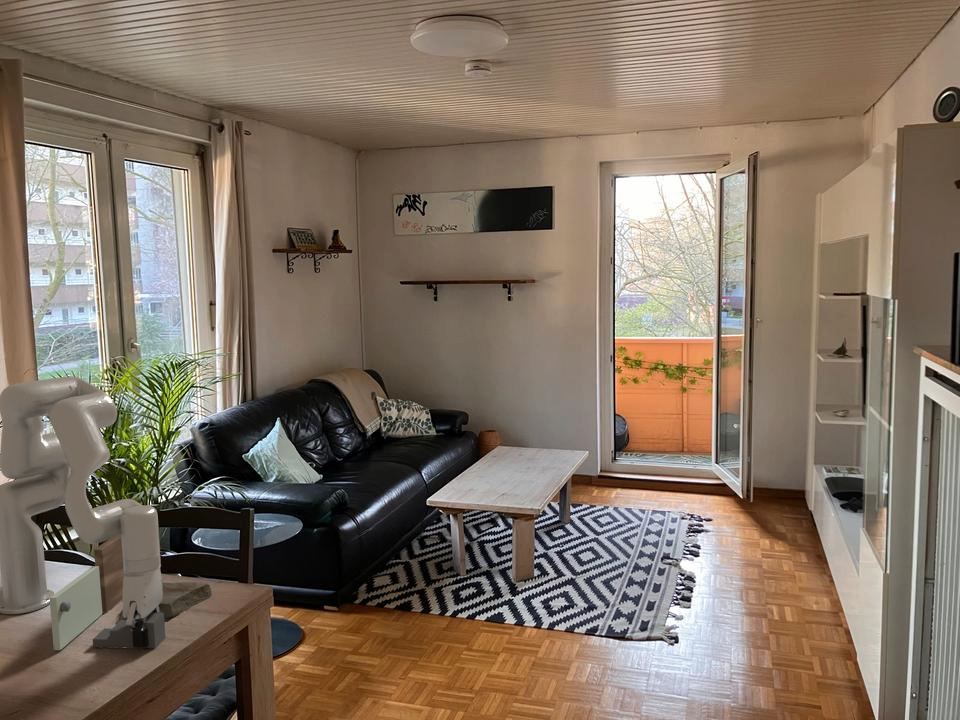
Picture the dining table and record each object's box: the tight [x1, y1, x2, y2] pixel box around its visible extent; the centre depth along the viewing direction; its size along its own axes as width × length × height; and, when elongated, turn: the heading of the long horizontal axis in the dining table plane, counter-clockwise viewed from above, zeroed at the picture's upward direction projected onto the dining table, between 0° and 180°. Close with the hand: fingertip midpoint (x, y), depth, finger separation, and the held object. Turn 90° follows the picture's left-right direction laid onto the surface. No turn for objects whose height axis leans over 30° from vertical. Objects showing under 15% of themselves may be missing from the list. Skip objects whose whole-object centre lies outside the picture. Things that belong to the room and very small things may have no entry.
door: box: [49, 565, 103, 651], centre depth 177 cm, size 3×18×12 cm, turn 178°
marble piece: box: [159, 581, 213, 620], centre depth 192 cm, size 17×15×4 cm
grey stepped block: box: [92, 612, 166, 649], centre depth 173 cm, size 14×5×6 cm, turn 88°
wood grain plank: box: [93, 535, 125, 614], centre depth 194 cm, size 2×14×16 cm, turn 178°
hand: (147, 639), depth 173 cm, fingers closed on grey stepped block, 5 cm apart
